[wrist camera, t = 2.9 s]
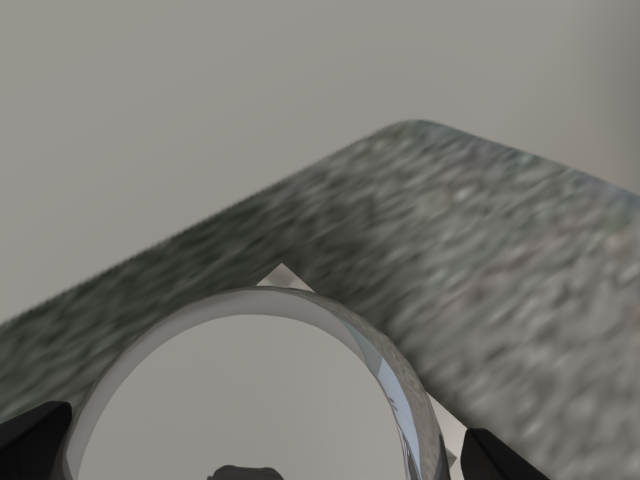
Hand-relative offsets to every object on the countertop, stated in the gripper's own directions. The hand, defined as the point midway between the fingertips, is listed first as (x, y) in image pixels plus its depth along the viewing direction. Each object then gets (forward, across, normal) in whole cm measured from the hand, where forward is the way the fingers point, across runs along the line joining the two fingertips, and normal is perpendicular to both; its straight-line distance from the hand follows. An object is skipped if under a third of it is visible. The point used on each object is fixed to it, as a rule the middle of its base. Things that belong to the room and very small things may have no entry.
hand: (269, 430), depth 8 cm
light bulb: (+5, 0, +6) cm, 8 cm away
